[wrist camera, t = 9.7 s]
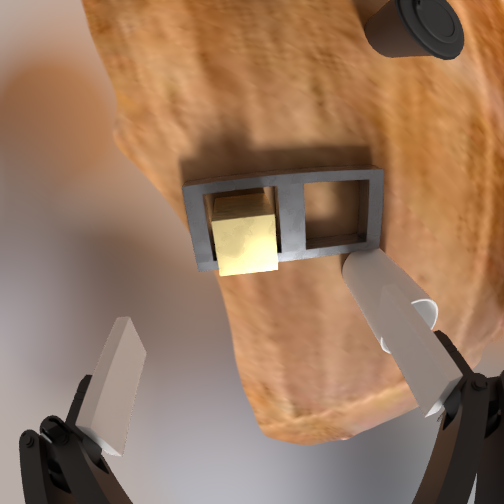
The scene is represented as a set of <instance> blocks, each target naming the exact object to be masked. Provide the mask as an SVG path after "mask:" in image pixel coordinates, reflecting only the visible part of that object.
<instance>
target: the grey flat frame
mask: <svg viewBox="0 0 504 504" xmlns="http://www.w3.org/2000/svg"><path fill="white" fill-rule="evenodd" d="M344 180H359V214H358V233H357V234H348V235H340V236H331V237H323V238H314V239H306V238H305V203H304V183H313V182H328V181H344ZM268 186H274V193H275V206H276V219H277V234H278V243H276V244H277V262H282V261H290V260H298V259H306V258H313V257H321V256H329V255H336V254H344V253H351V252H358V251H366V250H373V249H379V245H380V235H381V223H382V210H383V191H384V169H382V168H379V167H377V166H374V165H358V166H331V167H313V168H298V169H286V170H274V171H264V172H254V173H245V174H237V175H228V176H221V177H213V178H206V179H199V180H193V181H186V182H185V184H184V185H183V186H182V190H183V196H184V201H185V207H186V212H187V217H188V223H189V228H190V233H191V238H192V243H193V247H194V252H195V257H196V262H197V266H198V271H199V272H200V271H207V270H217V269H219V266H218V260H217V254H216V250H214V244H213V238H212V232H211V226H210V220H209V214H208V208H207V201H206V195H205V194H210V193H217V192H225V191H233V190H241V189H250V188H259V187H268Z"/></svg>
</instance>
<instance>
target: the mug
mask: <svg viewBox="0 0 504 504" xmlns="http://www.w3.org/2000/svg"><path fill="white" fill-rule="evenodd" d="M342 276H343V279H344V281H345V283H346V285H347V287H348V288H349V290H350V292H351V294H352V296H353V297H354V299H355V301H356V302H357V304H358V306H359V308H360V309H361V311H362V313H363V315H364V316H365V318H366V320H367V322H368V324H369V326H370V327H371V329H372V331H373V333H374V335H375V336H376V338H377V340H378V341H379V343H380V345H381V347H382V349H383V350H384V351H386V352H388V353H391V352H390V350H389V349H388V347H387V345H386V343H385V342H384V340H383V338H382V336H381V335H380V333H379V331H378V330H377V328H376V326H375V322H376V318H377V313H378V309H379V304H380V299H381V294H382V289H383V286H385V285H390V284H396V285H397V287H398V288H399V289H400V290H401V291H402V293H403V294H404V295H405V296H406V298H407V299H408V300H409V301H410V303H411V304H412V305H413V306H414V308H415V309H416V310H417V312H418V313H419V314H420V315H421V317H422V318H423V319H424V321H425V322H426V323H427V325H428V326H429V327H430V329H431V330H432V328H433V327H434V325H435V323H436V320H437V316H438V307H437V304H436V303H435V302H434V301H433V300H432V299H431V298H430V297H429V295H428V294H427V293H426V292H425V291H424V290H423V289H422V288H421V287H420V286H419V285H418V284H417V283H416V282H415V281H414V280H413V279H412V278H411V277H410V276H409V275H408V274H407V273H406V272H405V271H404V270H403V269H402V268H400V267H399V266H398V265H397V264H396V263H395V262H394V261H393V260H392V259H391V258H390V257H389V256H388V255H387V254H386V253H384V252H383V251H382V250H381V249H380V248H379V249H373V250H366V251H358V252H352V253H351V254H350V255H349V256H348V257H347V259H346V260H345V262H344V265H343V269H342Z"/></svg>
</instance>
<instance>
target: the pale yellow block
mask: <svg viewBox="0 0 504 504" xmlns="http://www.w3.org/2000/svg"><path fill="white" fill-rule="evenodd" d="M211 223H212V229H213V235H214V242H215V248H216V254H217V260H218V266H219V272H220V276H226V275H234V274H243V273H252V272H260V271H269V270H277V269H278V262H277V244H276V228H275V214H274V212H273V210H272V208H271V206H270V204H269V201H268V199H267V197H266V195H265V193H259V194H249V195H240V196H231V197H223V198H216V199H215V204H214V210H213V215H212V221H211Z"/></svg>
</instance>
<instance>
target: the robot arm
mask: <svg viewBox="0 0 504 504" xmlns="http://www.w3.org/2000/svg"><path fill="white" fill-rule="evenodd" d="M375 326H376V328H377V330H378V331H379V333H380V335H381V336H382V338H383V340H384V342H385V343H386V345H387V347H388V349H389V350H390V352H391V354H392V356H393V358H394V359H395V361H396V363H397V365H398V367H399V369H400V370H401V372H402V374H403V376H404V378H405V380H406V382H407V383H408V385H409V387H410V389H411V391H412V393H413V395H414V397H415V399H416V401H417V403H418V405H419V407H420V409H421V411H422V413H423V415H424V417H427V416H429V415H431V414H433V413H436V412H438V410H439V409H440V408H441V407H442V405H444V407H445V411H444V412H443V413H442V414H441V415H440V417H439V418H438V420H437V422H439V421H440V420H441V419H442V420H441V424H440V428H439V432H438V435H437V439H436V442H435V445H434V448H433V452H432V455H431V458H430V461H429V463H428V466H427V469H426V471H425V474H424V477H423V479H422V482H421V484H420V487H419V489H418V491H417V494H416V496H415V498H414V500H413V502H412V504H467V503H468V499H469V496H470V494H471V490H472V487H473V484H474V480H475V477H476V473H477V483H476V493H475V501H474V504H504V370H503V372H502V373H501V374H500V376H497V377H491V378H486V377H485V376H484V375H482V374H480V373H474V372H473V371H472V370H471V368H470V367H469V365H468V364H467V362H466V361H465V360H464V358H463V357H462V355H461V354H460V353H459V351H457V348H456V347H455V346H454V345H453V343H452V342H451V340H450V339H449V338H448V336H447V335H445V334H444V333H442V332H441V331H440V330H438V331H435V332H433V331H432V330H431V329H430V327H429V326H428V325H427V323H426V322H425V321H424V319H423V318H422V317H421V315H420V314H419V313H418V312H417V310H416V309H415V308H414V306H413V305H412V304H411V303H410V301H409V300H408V299H407V298H406V296H405V295H404V294H403V293H402V291H401V290H400V289H399V288H398V287H397V285H396V284H390V285H385V286H383V289H382V294H381V299H380V304H379V309H378V313H377V318H376V322H375ZM146 354H147V353H146V351H145V349H144V347H143V345H142V343H141V341H140V339H139V337H138V334H137V332H136V330H135V328H134V325H133V323H132V321H131V319H130V317H117V319H116V321H115V323H114V326H113V328H112V330H111V332H110V335H109V337H108V339H107V342H106V344H105V346H104V349H103V351H102V353H101V356H100V358H99V361H98V363H97V366H96V368H95V371H94V373H93V375H86V376H85V377H84V378H83V379H82V380H81V382H80V384H79V386H78V389H77V393H76V394H75V396H74V400H73V402H72V405H71V407H70V410H69V413H68V416H67V418H66V421H65V422H63V421H62V420H61V419H60V418H59V417H57V416H53V415H52V416H48V417H47V418H45V419H44V420H43V421H42V423H41V425H40V434H41V435H39V434H37V433H36V432H35V431H33V430H26V431H24V432H23V433H22V435H21V437H20V440H19V451H20V466H21V476H22V484H23V491H24V497H25V503H26V504H133V503H132V502H131V500H130V499H129V497H128V496H127V494H126V493H125V491H124V490H123V489H122V487H121V485H120V484H119V482H118V481H117V479H116V477H115V476H114V474H113V473H112V471H111V469H110V467H109V466H108V464H107V462H106V461H105V459H104V457H103V456H102V455H101V452H102V449H103V450H104V451H105V452H107V453H108V454H111V455H117V456H123V454H124V448H125V443H126V438H127V433H128V427H129V423H130V419H131V414H132V410H133V405H134V401H135V396H136V392H137V388H138V384H139V380H140V376H141V372H142V369H143V364H144V361H145V357H146ZM500 412H501V413H500Z"/></svg>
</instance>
